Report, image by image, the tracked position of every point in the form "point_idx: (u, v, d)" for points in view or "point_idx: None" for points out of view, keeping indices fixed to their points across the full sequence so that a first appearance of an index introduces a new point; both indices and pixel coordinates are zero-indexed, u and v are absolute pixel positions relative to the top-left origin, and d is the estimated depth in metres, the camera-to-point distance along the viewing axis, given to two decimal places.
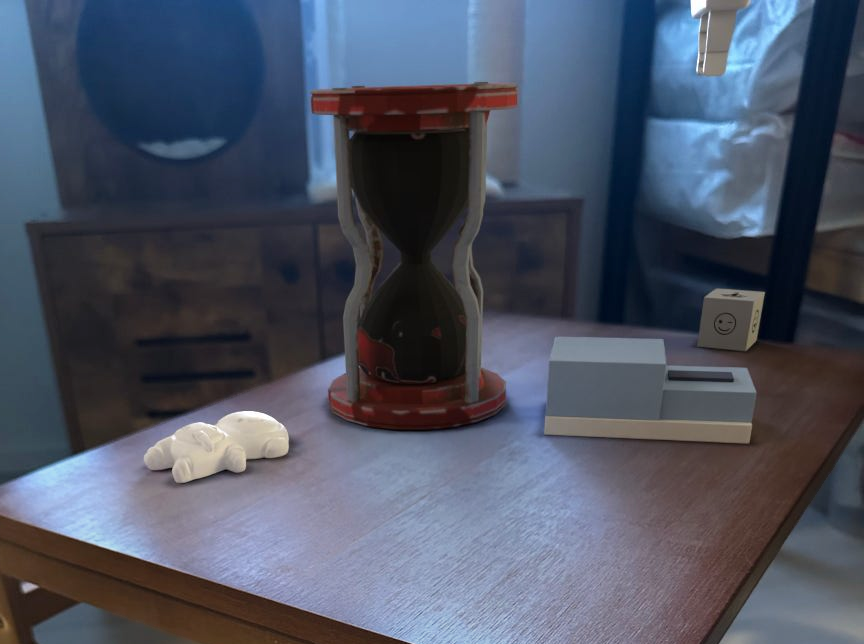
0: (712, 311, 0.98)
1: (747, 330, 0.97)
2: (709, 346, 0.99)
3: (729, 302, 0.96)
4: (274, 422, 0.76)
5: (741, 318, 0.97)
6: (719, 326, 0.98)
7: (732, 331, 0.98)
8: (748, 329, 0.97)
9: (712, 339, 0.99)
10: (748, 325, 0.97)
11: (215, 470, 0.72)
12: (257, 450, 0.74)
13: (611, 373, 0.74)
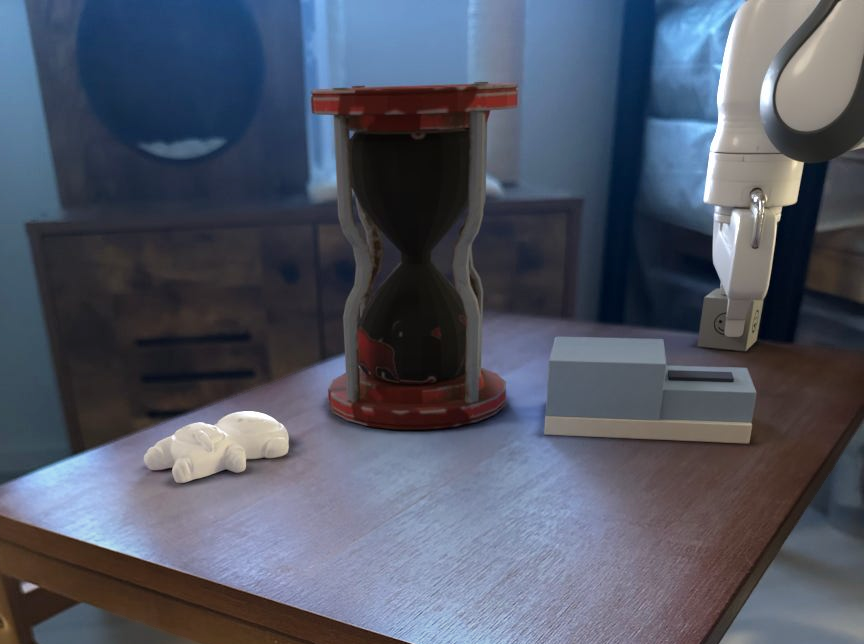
0: (712, 311, 0.98)
1: (747, 330, 0.97)
2: (709, 346, 0.99)
3: None
4: (274, 422, 0.76)
5: None
6: (719, 326, 0.98)
7: None
8: (748, 329, 0.97)
9: (712, 339, 0.99)
10: (748, 325, 0.97)
11: (215, 470, 0.72)
12: (257, 450, 0.74)
13: (611, 373, 0.74)
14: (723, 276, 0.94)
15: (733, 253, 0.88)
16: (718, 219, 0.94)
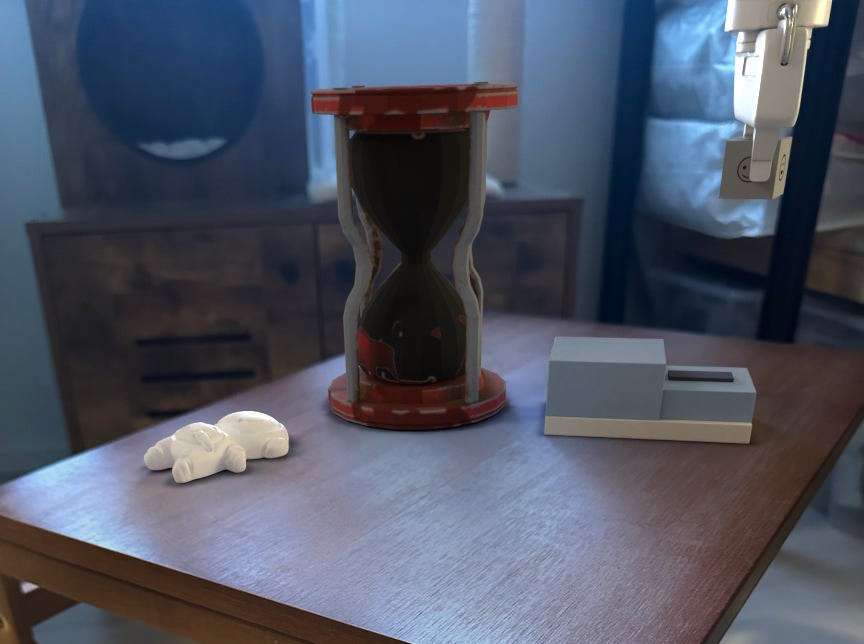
0: (735, 156, 0.90)
1: (774, 175, 0.89)
2: (732, 197, 0.91)
3: None
4: (274, 422, 0.76)
5: None
6: (743, 173, 0.90)
7: None
8: (775, 173, 0.89)
9: (735, 189, 0.91)
10: (775, 169, 0.89)
11: (215, 470, 0.72)
12: (257, 450, 0.74)
13: (611, 373, 0.74)
14: (748, 111, 0.86)
15: (759, 73, 0.80)
16: (742, 49, 0.86)
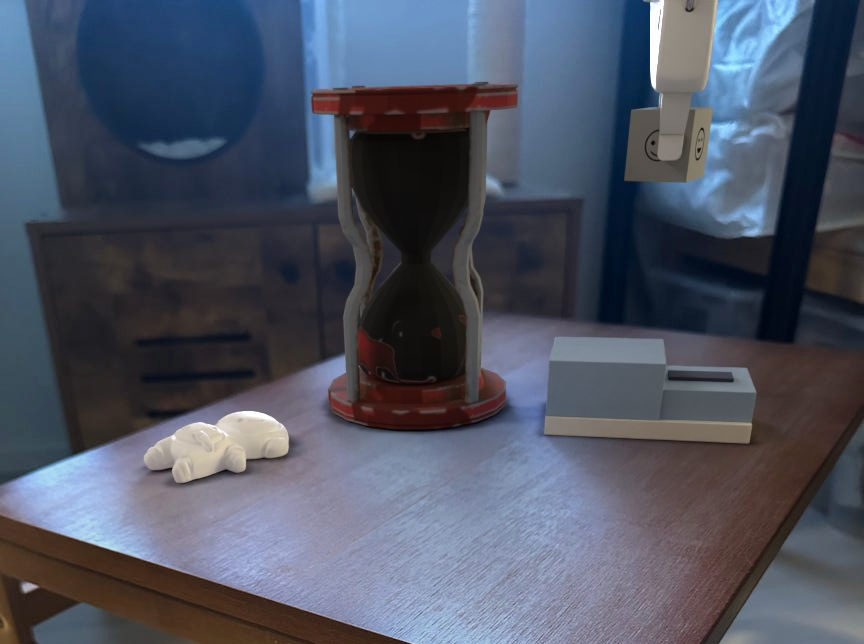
0: (642, 129, 0.74)
1: (687, 152, 0.73)
2: (639, 179, 0.75)
3: None
4: (274, 422, 0.76)
5: None
6: (652, 151, 0.74)
7: None
8: (689, 151, 0.73)
9: (643, 169, 0.75)
10: (689, 145, 0.72)
11: (215, 470, 0.72)
12: (257, 450, 0.74)
13: (611, 373, 0.74)
14: None
15: (660, 22, 0.64)
16: None
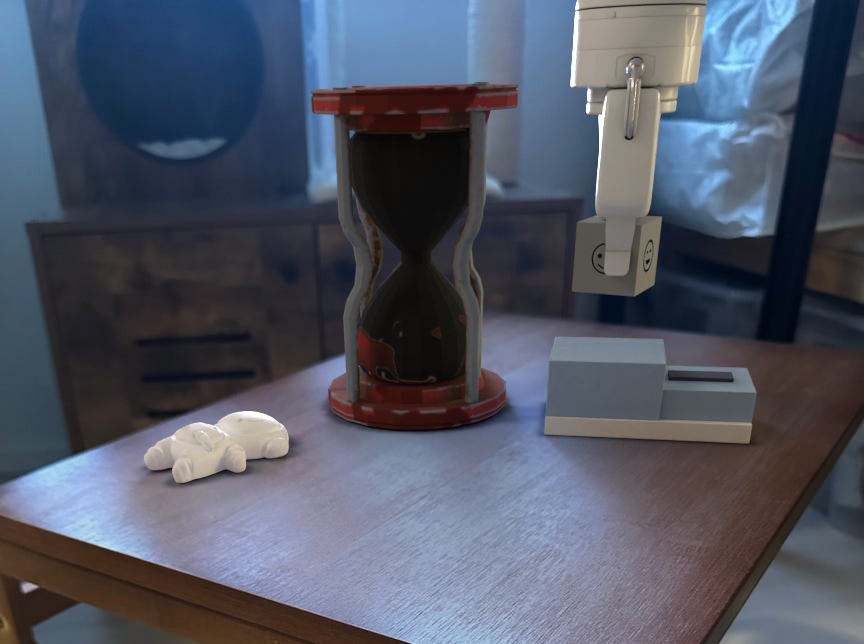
0: (588, 241, 0.71)
1: (635, 267, 0.70)
2: (587, 291, 0.73)
3: None
4: (274, 422, 0.76)
5: None
6: (599, 263, 0.72)
7: None
8: (636, 265, 0.70)
9: (590, 281, 0.73)
10: (636, 260, 0.70)
11: (215, 470, 0.72)
12: (257, 450, 0.74)
13: (611, 373, 0.74)
14: None
15: (600, 148, 0.62)
16: (591, 110, 0.67)
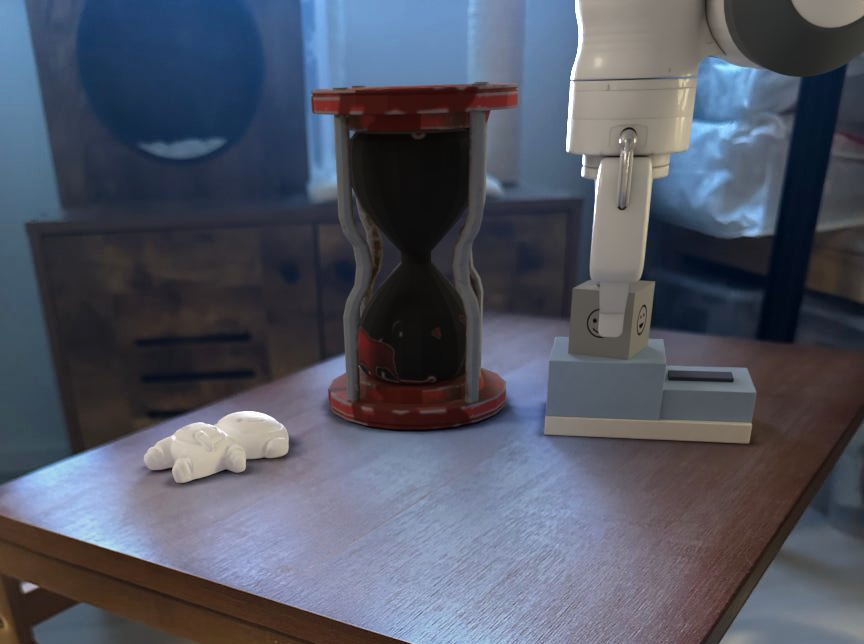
0: (584, 307, 0.74)
1: (629, 332, 0.73)
2: (583, 353, 0.75)
3: None
4: (274, 422, 0.76)
5: None
6: (594, 327, 0.74)
7: None
8: (630, 331, 0.73)
9: (586, 344, 0.75)
10: (629, 325, 0.73)
11: (215, 470, 0.72)
12: (257, 450, 0.74)
13: (611, 373, 0.74)
14: None
15: (594, 217, 0.64)
16: (585, 174, 0.69)
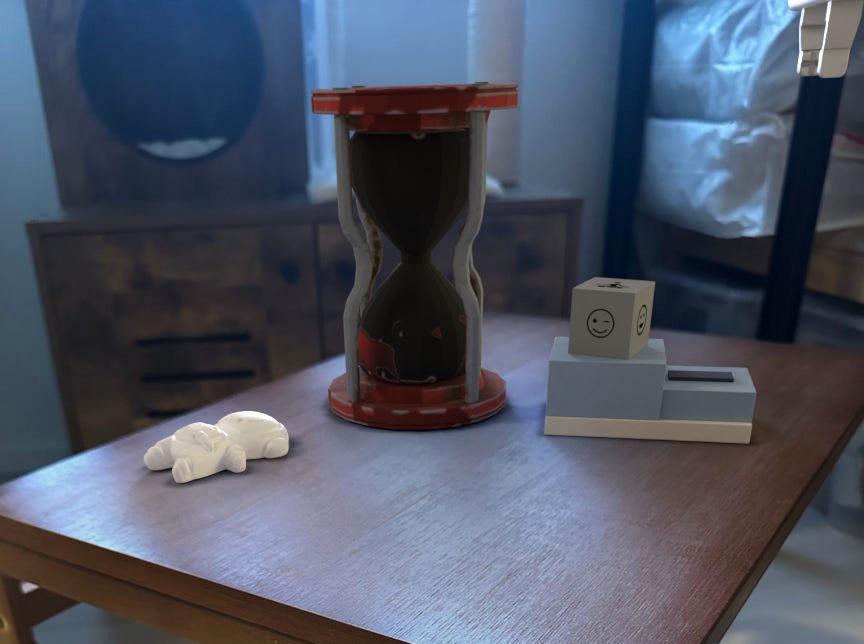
0: (584, 307, 0.74)
1: (629, 332, 0.73)
2: (583, 353, 0.75)
3: (604, 294, 0.72)
4: (274, 422, 0.76)
5: (620, 316, 0.73)
6: (594, 327, 0.74)
7: (610, 333, 0.74)
8: (630, 331, 0.73)
9: (586, 344, 0.75)
10: (629, 325, 0.73)
11: (215, 470, 0.72)
12: (257, 450, 0.74)
13: (611, 373, 0.74)
14: None
15: None
16: None
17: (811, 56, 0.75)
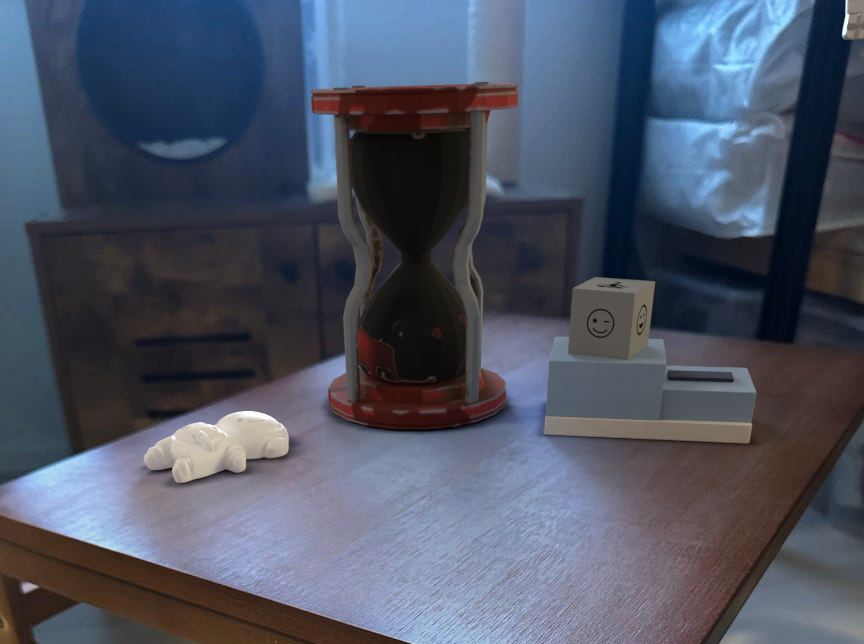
0: (584, 307, 0.74)
1: (629, 332, 0.73)
2: (583, 353, 0.75)
3: (604, 294, 0.72)
4: (274, 422, 0.76)
5: (620, 316, 0.73)
6: (594, 327, 0.74)
7: (610, 333, 0.74)
8: (630, 331, 0.73)
9: (586, 344, 0.75)
10: (629, 325, 0.73)
11: (215, 470, 0.72)
12: (257, 450, 0.74)
13: (611, 373, 0.74)
14: None
15: None
16: None
17: (857, 19, 0.76)
